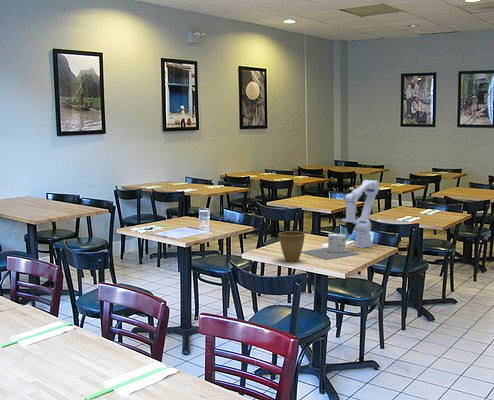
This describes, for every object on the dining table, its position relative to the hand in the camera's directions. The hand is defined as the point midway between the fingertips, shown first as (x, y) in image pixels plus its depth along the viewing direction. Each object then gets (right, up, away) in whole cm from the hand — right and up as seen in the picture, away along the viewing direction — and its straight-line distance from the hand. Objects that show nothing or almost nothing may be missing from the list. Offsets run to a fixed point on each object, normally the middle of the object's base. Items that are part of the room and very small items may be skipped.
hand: (350, 234), depth 360 cm
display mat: (-14, -11, -8) cm, 20 cm away
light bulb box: (-9, -10, -5) cm, 15 cm away
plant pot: (-39, -14, -27) cm, 49 cm away
